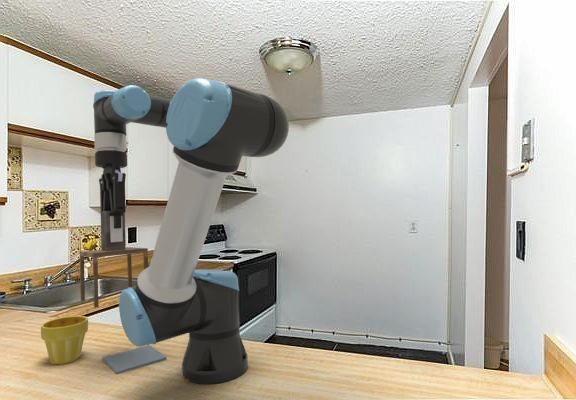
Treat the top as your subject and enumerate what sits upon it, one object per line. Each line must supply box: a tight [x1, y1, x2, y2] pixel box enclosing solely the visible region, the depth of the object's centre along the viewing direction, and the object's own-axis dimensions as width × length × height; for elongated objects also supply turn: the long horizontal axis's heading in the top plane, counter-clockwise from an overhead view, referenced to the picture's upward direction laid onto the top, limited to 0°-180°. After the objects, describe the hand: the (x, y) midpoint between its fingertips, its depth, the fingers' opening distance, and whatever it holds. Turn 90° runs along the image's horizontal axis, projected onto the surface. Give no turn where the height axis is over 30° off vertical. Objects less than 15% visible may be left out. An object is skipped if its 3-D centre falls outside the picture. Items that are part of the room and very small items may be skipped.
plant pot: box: [40, 315, 89, 365], centre depth 94 cm, size 10×10×10 cm
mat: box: [101, 344, 168, 375], centre depth 92 cm, size 12×12×1 cm
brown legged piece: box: [79, 211, 149, 308], centre depth 93 cm, size 13×13×22 cm
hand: (113, 241), depth 93 cm, fingers closed on brown legged piece, 4 cm apart
